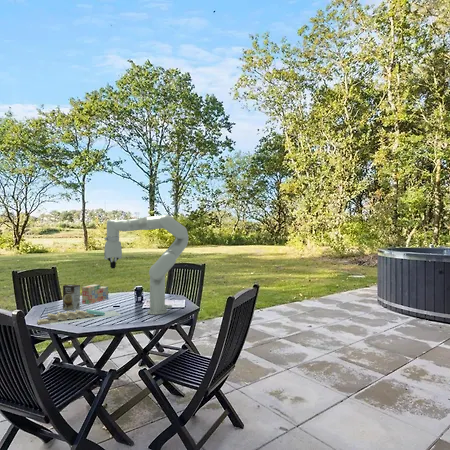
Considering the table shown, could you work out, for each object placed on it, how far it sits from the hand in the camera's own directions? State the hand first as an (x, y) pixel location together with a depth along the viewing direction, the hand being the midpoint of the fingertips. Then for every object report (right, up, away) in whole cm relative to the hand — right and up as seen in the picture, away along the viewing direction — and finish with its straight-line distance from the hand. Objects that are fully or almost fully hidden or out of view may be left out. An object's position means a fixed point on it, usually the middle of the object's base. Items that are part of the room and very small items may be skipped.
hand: (113, 268), depth 229 cm
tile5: (-23, -28, -16) cm, 39 cm away
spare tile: (-5, -28, -3) cm, 29 cm away
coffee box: (-32, -30, +14) cm, 46 cm away
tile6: (-27, -28, -18) cm, 43 cm away
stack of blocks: (-26, -30, +41) cm, 57 cm away
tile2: (-10, -28, -7) cm, 31 cm away
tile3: (-14, -28, -10) cm, 33 cm away
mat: (-14, -29, -10) cm, 34 cm away
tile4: (-19, -28, -13) cm, 36 cm away
